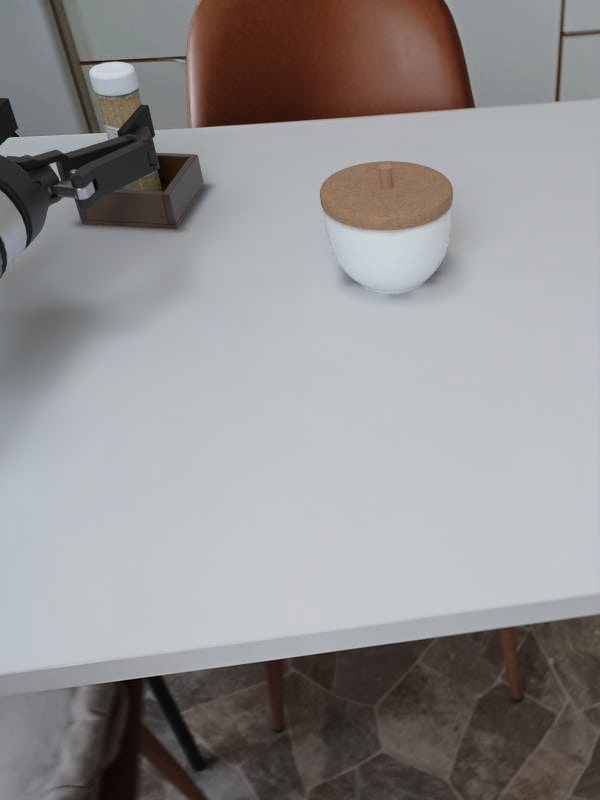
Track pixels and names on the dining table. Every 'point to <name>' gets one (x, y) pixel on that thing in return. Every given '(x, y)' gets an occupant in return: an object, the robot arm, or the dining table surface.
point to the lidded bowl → (388, 223)
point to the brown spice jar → (120, 107)
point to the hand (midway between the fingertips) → (78, 116)
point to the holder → (152, 198)
